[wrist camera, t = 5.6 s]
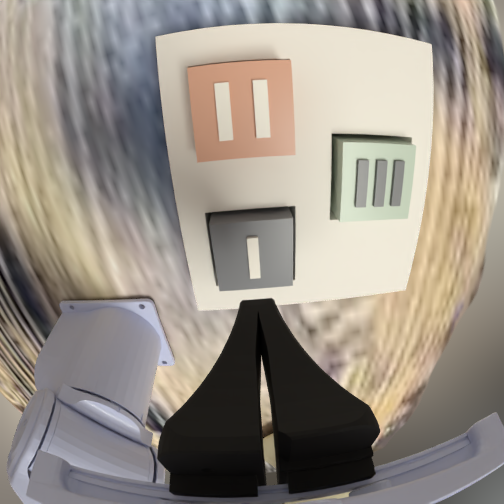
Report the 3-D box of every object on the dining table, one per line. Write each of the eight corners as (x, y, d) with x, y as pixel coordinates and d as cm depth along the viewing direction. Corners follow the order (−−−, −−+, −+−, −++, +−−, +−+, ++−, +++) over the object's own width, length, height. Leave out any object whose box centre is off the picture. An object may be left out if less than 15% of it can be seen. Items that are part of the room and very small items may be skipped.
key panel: (201, 288, 22) (198, 310, 20) (166, 43, 13) (155, 36, 11) (392, 271, 22) (405, 290, 20) (410, 47, 13) (431, 44, 11)
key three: (325, 202, 18) (340, 223, 15) (326, 133, 16) (344, 142, 13) (386, 200, 18) (409, 220, 15) (391, 135, 16) (418, 146, 13)
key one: (221, 264, 20) (219, 293, 17) (213, 204, 18) (208, 226, 15) (286, 259, 20) (293, 287, 17) (285, 198, 18) (293, 219, 15)
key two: (204, 150, 15) (196, 163, 13) (196, 72, 13) (186, 67, 10) (285, 144, 15) (296, 156, 13) (281, 66, 13) (291, 59, 10)
